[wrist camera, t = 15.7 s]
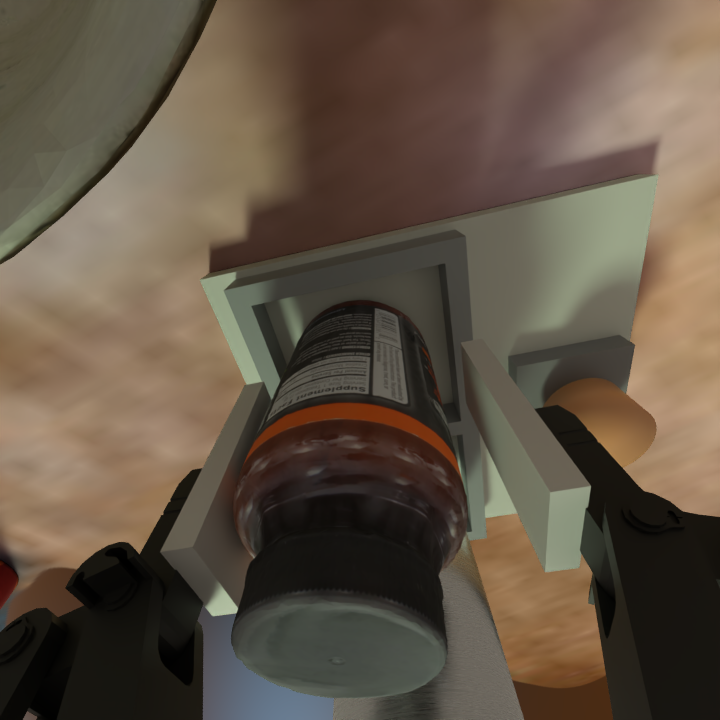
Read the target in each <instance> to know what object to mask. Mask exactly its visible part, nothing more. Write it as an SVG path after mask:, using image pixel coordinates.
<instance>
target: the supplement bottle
mask: <svg viewBox="0 0 720 720" xmlns="http://www.w3.org/2000/svg"><path fill="white" fill-rule="evenodd" d="M233 516H234V522H235V527H236V530H237V533H238V535H239V538H240V539H241V541H242V543H243V545H244V547H245V549H246V550H247V552H248V553H249V554H250V555H251V556H252V558H253V560H252V561H251V562H250V564H249V566H248V569H247V573H246V577H245V586H244V590H243V594H242V598H241V601H240V604H239V607H238V610H237V614H236V617H235V621H234V624H233V628H232V634H231V643H232V646H233V649H234V652H235V654H236V657H237V658H238V659H240V660H242V662H243V663H244V665H245V666H246V667H247V668H248V669H249V670H252V671H253V672H254V673H256V674H258V675H259V676H261V677H263V678H264V679H266V680H268V681H270V682H272V683H274V684H276V685H279V686H282V687H286V688H289V689H291V690H293V691H296V692H300V693H304V694H309V695H314V696H320V697H327V698H373V697H385V696H391V695H398V694H403V693H407V692H410V691H413V690H415V689H417V688H419V687H421V686H423V685H425V684H427V683H428V682H429V681H430V680H432V679H433V678H434V677H436V676H437V675H438V674H439V673H440V671H441V670H442V668H443V667H444V665H445V663H446V659H447V655H448V644H447V636H446V628H445V620H444V610H443V603H442V601H443V597H444V596H443V589H442V585H441V581H440V578H439V574H440V572H442V571H443V570H444V569H446V568H447V566H448V565H449V564H450V562H451V561H453V560H454V558H455V556H456V554H457V553H458V551H459V549H460V548H461V545H462V542H463V540H464V537H465V535H466V530H467V520H468V506H467V496H466V493H465V489H464V485H463V481H462V477H461V474H460V470H459V466H458V461H457V457H456V452H455V448H454V446H453V441H452V437H451V435H450V429H449V426H448V422H447V419H446V414H445V412H444V409H443V405H442V402H441V397H440V393H439V390H438V386H437V381H436V377H435V374H434V370H433V367H432V362H431V357H430V354H429V351H428V348H427V346H426V344H425V341H424V339H423V336H422V334H421V333H420V331H419V329H418V328H417V327H416V325H415V324H414V323H413V322H412V321H411V319H410V318H409V317H408V316H406V315H405V314H403V313H402V312H401V311H399V310H397V309H395V308H393V307H391V306H388V305H386V304H383V303H380V302H375V301H370V300H354V301H346V302H343V303H339V304H336V305H333V306H331V307H330V308H327V309H326V310H324V311H323V312H321V313H319V314H318V315H317V316H316V317H315V318H314V319H312V320H311V322H310V323H309V324H308V326H307V327H306V329H305V330H304V332H303V334H302V336H301V337H300V339H299V340H298V342H297V345H296V347H295V349H294V352H293V354H292V356H291V358H290V360H289V362H288V365H287V367H286V369H285V371H284V374H283V376H282V378H281V381H280V383H279V385H278V387H277V389H276V391H275V394H274V396H273V398H272V401H271V403H270V405H269V407H268V409H267V412H266V414H265V416H264V418H263V421H262V423H261V425H260V428H259V430H258V432H257V434H256V437H255V439H254V441H253V444H252V446H251V448H250V451H249V453H248V455H247V457H246V460H245V462H244V464H243V466H242V469H241V472H240V475H239V478H238V481H237V484H236V488H235V491H234V498H233Z"/></svg>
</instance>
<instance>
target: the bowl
mask: <svg viewBox="0 0 720 720" xmlns="http://www.w3.org/2000/svg"><path fill="white" fill-rule="evenodd" d="M216 1H217V0H0V264H2V263H3V262H5V261H7V260H9V259H10V258H12V257H14V256H15V255H16V254H18V253H19V252H20V251H21V250H22V249H24V248H25V247H26V246H27V245H29V244H30V243H31V242H32V241H33V240H35V239H36V238H37V237H38V236H39V235H41V234H42V233H43V232H44V231H45V230H47V229H48V228H49V227H50V226H52V225H53V224H54V223H55V222H56V221H58V220H59V219H60V218H61V217H62V216H64V215H65V214H66V213H67V212H68V211H69V210H70V209H71V208H72V207H73V206H74V205H75V204H76V203H77V202H78V201H79V200H80V199H81V198H82V197H84V196H85V195H86V194H87V193H88V192H89V191H90V190H91V189H92V188H93V187H94V186H95V185H96V184H97V183H98V182H99V181H100V180H101V179H102V178H104V177H105V176H106V175H107V174H108V173H109V172H110V170H111V169H112V168H113V167H114V166H115V165H116V164H117V163H118V161H119V160H120V159H121V158H122V157H123V156H124V155H125V154H126V152H127V151H128V150H129V149H130V148H131V147H132V146H133V144H134V143H135V141H136V140H137V139H138V137H139V136H140V135H141V133H142V132H143V130H144V129H145V128H146V126H147V125H148V124H149V122H150V121H151V119H152V118H153V117H154V115H155V114H156V112H157V111H158V110H159V108H160V107H161V106H162V104H163V103H164V101H165V100H166V99H167V97H168V96H169V94H170V92H171V90H172V88H173V86H174V85H175V83H176V81H177V79H178V77H179V75H180V74H181V72H182V70H183V68H184V66H185V64H186V62H187V61H188V59H189V57H190V55H191V53H192V51H193V50H194V48H195V46H196V44H197V42H198V40H199V39H200V37H201V35H202V32H203V30H204V28H205V26H206V23H207V21H208V19H209V17H210V14H211V12H212V10H213V8H214V6H215V3H216Z"/></svg>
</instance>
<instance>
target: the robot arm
mask: <svg viewBox="0 0 720 720" xmlns="http://www.w3.org/2000/svg"><path fill="white" fill-rule="evenodd" d="M461 352H462V364H463V375H464V386H465V398H466V404H467V406H468V409H469V411H470V413H471V415H472V417H473V419H474V421H475V424H476V426H477V428H478V430H479V432H480V434H481V436H482V439H483V441H484V443H485V445H486V447H487V449H488V451H489V453H490V456H491V458H492V460H493V462H494V464H495V466H496V468H497V471H498V473H499V475H500V477H501V479H502V481H503V483H504V486H505V488H506V490H507V492H508V494H509V496H510V498H511V501H512V503H513V505H514V507H515V509H516V511H517V513H518V515H519V518H520V520H521V522H522V524H523V526H524V528H525V530H526V533H527V535H528V537H529V539H530V541H531V543H532V545H533V548H534V550H535V552H536V554H537V556H538V558H539V560H540V563H541V565H542V567H543V569H544V571H545V572H551V571H558V570H566V569H573V568H579V565H580V559H581V553H582V555H583V557H584V559H585V560H586V562H587V564H588V565H589V567H590V569H591V571H592V572H593V574H592V580H591V585H590V591H589V601H588V603H589V604H593V605H594V603H595V609H596V615H597V621H598V627H599V633H600V639H601V646H602V652H603V658H604V664H605V670H606V677H607V683H608V689H609V695H610V700H611V707H612V714H613V720H720V517H714V516H706V515H698V514H693V513H688V512H683V511H681V510H680V509H679V508H678V507H676V506H675V505H674V504H672V503H671V502H670V501H668V500H666V499H664V498H662V497H660V496H658V495H656V494H653V493H649V492H645V491H643V490H642V489H641V488H640V487H639V486H638V485H637V484H636V483H635V482H634V480H633V479H632V478H631V477H630V476H629V475H628V474H627V473H626V471H625V470H624V469H623V468H622V467H621V466H620V465H619V464H618V462H617V461H616V460H615V459H614V458H613V457H612V456H611V455H610V453H609V452H608V451H607V450H606V449H605V448H604V447H603V446H602V444H601V443H600V442H599V443H598V441H597V439H596V438H595V437H594V435H593V434H592V433H591V432H590V431H588V430H587V428H586V426H585V425H584V424H583V423H582V422H581V421H580V420H579V418H578V417H577V416H576V415H575V414H573V413H571V412H569V411H568V410H566V409H564V408H562V407H561V406H559V405H554V406H548V407H542V408H536V409H534V408H533V407H532V405H531V404H530V403H529V401H528V400H527V399H526V397H525V396H524V395H523V393H522V392H521V391H520V389H519V388H518V386H517V385H516V384H515V382H514V381H513V380H512V378H511V377H510V376H509V374H508V373H507V372H506V370H505V369H504V367H503V366H502V365H501V363H500V362H499V361H498V359H497V358H496V357H495V355H494V354H493V353H492V351H491V350H490V349H489V347H488V346H487V344H486V343H485V342H484V340H483V339H476V340H471V341H466V342H461ZM271 401H272V400H271V397H270V395H269V393H268V390H267V388H266V385H265V383H264V381H263V382H258V383H253V384H248V385H245V386H244V388H243V390H242V392H241V394H240V396H239V398H238V400H237V402H236V404H235V406H234V407H233V409H232V411H231V413H230V415H229V417H228V419H227V421H226V423H225V425H224V427H223V429H222V431H221V433H220V435H219V437H218V439H217V441H216V443H215V445H214V447H213V449H212V451H211V453H210V455H209V457H208V459H207V461H206V463H205V465H204V467H203V468H201V469H195V470H192V471H191V472H190V473H189V474H188V475H187V476H186V477H185V478H184V479H183V480H182V481H181V482H180V483H179V485H178V487H177V488H176V490H175V492H174V494H173V496H172V497H171V499H170V500H171V502H169V503H168V504H167V506H166V508H165V510H164V512H163V513H164V514H163V515H161V517H160V519H159V521H158V522H157V524H156V526H155V528H154V530H153V531H152V533H151V535H150V537H149V539H148V540H147V542H146V544H145V546H144V548H143V549H142V551H141V553H140V555H139V553H138V552H137V551H136V550H135V549H134V548H133V547H132V546H131V545H130V544H129V543H126V542H118V543H115V544H111V545H108V546H106V547H105V548H103V549H101V550H99V551H98V552H96V553H94V554H93V555H92V556H91V557H90V558H88V559H87V560H86V561H85V562H84V563H82V565H81V566H80V567H79V568H78V569H77V570H76V572H75V573H74V574H73V575H72V577H71V579H70V580H69V582H68V584H67V586H66V589H67V590H68V591H69V592H70V593H71V594H73V595H74V596H75V597H76V598H77V599H78V600H79V601H80V602H82V603H83V604H84V606H82V607H80V608H78V609H76V610H73V611H71V612H69V613H67V614H64V615H62V616H60V617H57V616H56V615H54V614H53V613H52V612H51V611H49V610H48V609H47V608H38V609H37V608H36V609H34V610H32V611H29V612H27V613H25V614H23V615H22V616H20V617H19V618H17V619H16V620H14V621H13V622H11V623H10V624H9V625H8V626H6V627H5V628H4V629H3V630H2V631H1V632H0V720H23V718H24V716H25V714H26V712H27V711H28V712H30V713H32V714H33V715H35V716H37V719H36V720H203V631H202V626H201V625H200V624H199V622H198V621H197V620H198V617H199V614H200V611H201V608H202V606H203V605H204V606H205V607H206V609H207V610H208V611H209V612H210V613H211V615H212V616H218V615H225V614H233V613H237V610H238V607H239V604H240V601H241V598H242V594H243V590H244V586H245V577H246V573H247V569H248V566H249V564H250V562H251V561H252V560H253V558H252V556H251V555H250V554H249V553H248V552H247V550H246V549H245V547H244V545H243V543H242V541H241V539H240V538H239V535H238V533H237V530H236V527H235V522H234V516H233V498H234V491H235V488H236V484H237V481H238V478H239V475H240V472H241V469H242V466H243V464H244V462H245V460H246V457H247V455H248V453H249V451H250V448H251V446H252V444H253V441H254V439H255V437H256V434H257V432H258V430H259V428H260V425H261V423H262V421H263V418H264V416H265V414H266V412H267V409H268V407H269V405H270V403H271Z"/></svg>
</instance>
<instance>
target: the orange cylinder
mask: <svg viewBox="0 0 720 720" xmlns="http://www.w3.org/2000/svg"><path fill="white" fill-rule="evenodd" d="M554 405H559V406H561V407H562V408H564V409H566V410H568V411H569V412H571V413H573V414H575V415H576V416H577V417H578V418H579V420H580V421H581V422H582V423H583V424H584V425H585V426H586V428H587V430H588V431H590V432H591V433H592V434H593V435H594V437H595V438H596V439H597V441H598V443H599V442H600V443H601V444H602V446H603V447H604V448H605V449H606V450H607V451H608V452H609V453H610V455H611V456H612V457H613V458H614V459H615V460H616V461H617V462H618V464H619V465H620V466H621V467H622V468H623V467H625V466H627V465H629V464H631V463H633V462H634V461H636V460H637V459H638V458H639V457H641V456H642V455H643V454H644V453H645V452H646V451H647V450H648V448H649V447H650V446H651V444H652V442H653V440H654V438H655V435H656V423H655V420H654V418H653V417H652V416H651V414H649V413H648V412H647V411H646V410H645V409H643V408H642V407H641V406H640V405H639V404H637V403H636V402H635V401H634V400H633V399H631V398H630V397H629V396H628V395H627V394H626V393H624V392H623V391H622V390H621V389H620V388H618V387H617V386H616V385H615V384H614V383H612V382H610V381H608V380H605V379H601V378H586V379H581V380H577V381H574V382H571V383H569V384H567V385H565V386H563V387H561V388H560V389H558V390H557V391H556V392H555V393H553V394H552V395H551V396H550V397H549V398H548V400H547V401H546V402H545V404H544V406H543V407H548V406H554Z"/></svg>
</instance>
